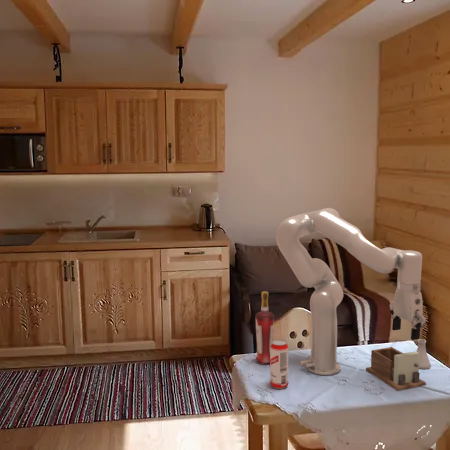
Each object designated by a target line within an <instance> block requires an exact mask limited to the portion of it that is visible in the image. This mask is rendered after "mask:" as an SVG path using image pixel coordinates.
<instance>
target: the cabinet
mask: <svg viewBox="0 0 450 450" xmlns="http://www.w3.org/2000/svg"><path fill="white" fill-rule="evenodd" d="M397 354H403V352H401V351H399V350H398V349H396V348H394V347H393V346H390V347H384V348H382V347H381V348H376V349H371V355H370V366H369V367H366V368H365V371H366V372H368V373H369V374H371V375H372V376H374V377H375V378H377V379H378V380H380V381H381V382H383V383H384V384H386V385H388V386H389V387H391V388H392V389H394V390H396V391H397V392H398V391H403V390H408V389H413V388H417V387H423V386H426V384H427V382H426V381H424V380H422V379H421V378H420V372H413V382H408V383H405V376H406V375H404V374H402V375H399V384H396V383H394V382H393V381H394V355H397Z"/></svg>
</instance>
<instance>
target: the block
mask: <svg viewBox="0 0 450 450" xmlns="http://www.w3.org/2000/svg"><path fill="white" fill-rule="evenodd" d="M416 351H417V350H415V351H410V352H404V353H403V352H402V353H403V354H397V355H394V381H393V382H394V383H396V384H399V375H402V374H404V375H406V376H405V383H408V382H413V372H419V369H420V368H419V353H418V352H416ZM419 373H420V372H419Z"/></svg>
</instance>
